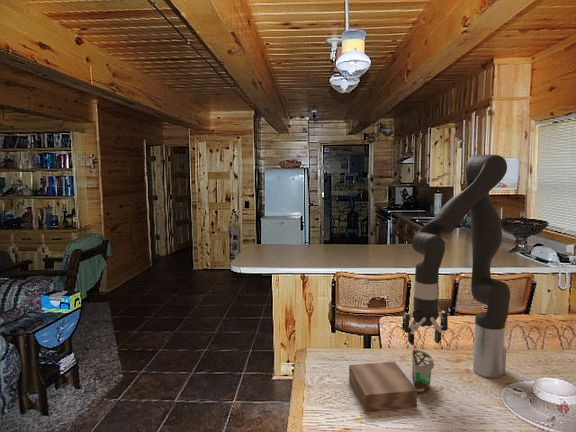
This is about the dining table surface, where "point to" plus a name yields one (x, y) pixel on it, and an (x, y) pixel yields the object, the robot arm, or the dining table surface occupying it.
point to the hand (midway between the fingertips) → (424, 343)
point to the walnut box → (382, 387)
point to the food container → (421, 370)
